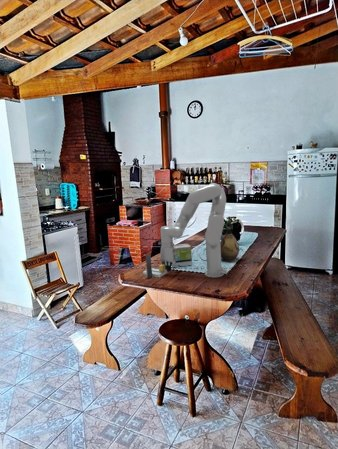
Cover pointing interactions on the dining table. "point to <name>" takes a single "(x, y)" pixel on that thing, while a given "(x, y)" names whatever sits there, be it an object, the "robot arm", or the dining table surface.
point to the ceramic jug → (229, 245)
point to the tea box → (182, 255)
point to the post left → (149, 266)
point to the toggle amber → (161, 268)
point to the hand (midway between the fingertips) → (169, 270)
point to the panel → (156, 272)
